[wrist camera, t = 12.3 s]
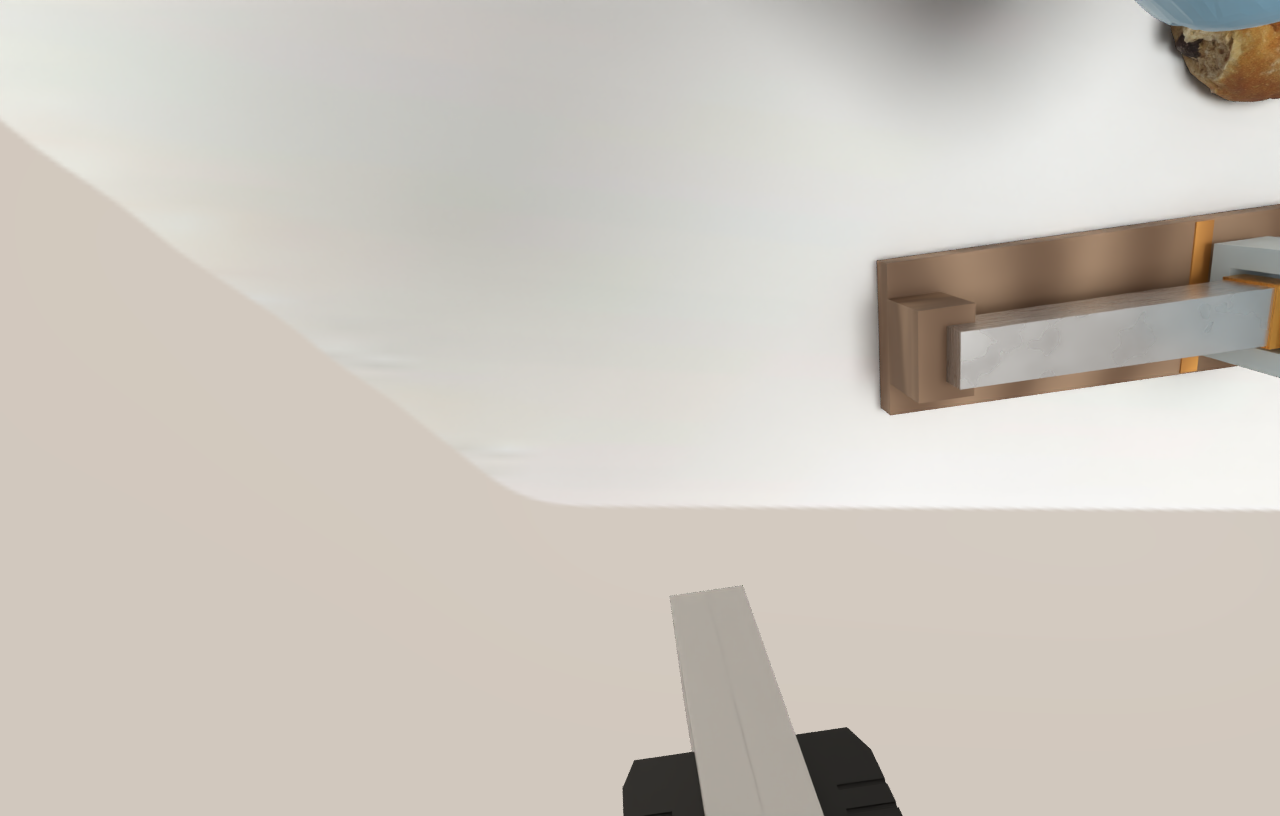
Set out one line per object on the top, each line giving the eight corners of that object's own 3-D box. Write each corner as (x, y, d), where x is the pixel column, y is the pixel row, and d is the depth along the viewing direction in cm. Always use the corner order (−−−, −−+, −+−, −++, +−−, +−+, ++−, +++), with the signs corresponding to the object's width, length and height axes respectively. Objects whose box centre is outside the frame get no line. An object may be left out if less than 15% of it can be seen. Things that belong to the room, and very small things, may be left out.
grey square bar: (932, 376, 39) (961, 393, 36) (932, 317, 38) (962, 329, 35) (1376, 313, 39) (1443, 324, 36) (1388, 253, 38) (1458, 259, 35)
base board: (880, 407, 44) (919, 438, 38) (876, 260, 41) (917, 272, 36) (1326, 344, 44) (1424, 366, 39) (1352, 193, 41) (1462, 195, 36)
